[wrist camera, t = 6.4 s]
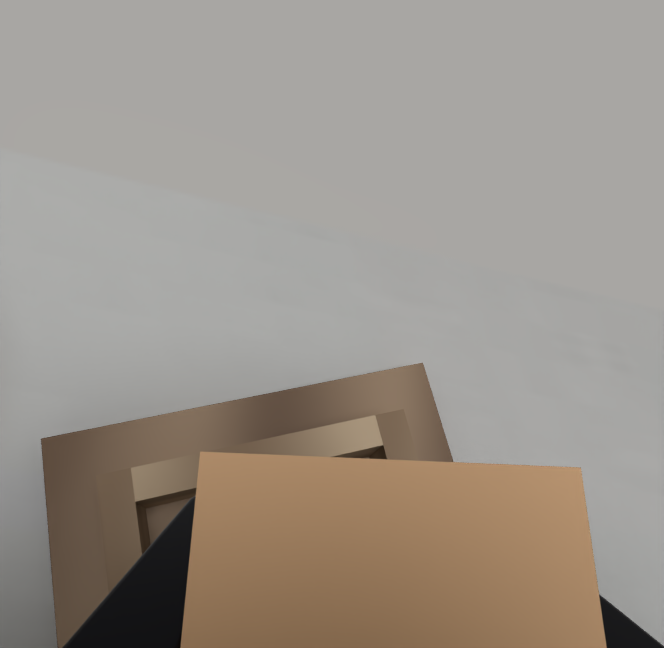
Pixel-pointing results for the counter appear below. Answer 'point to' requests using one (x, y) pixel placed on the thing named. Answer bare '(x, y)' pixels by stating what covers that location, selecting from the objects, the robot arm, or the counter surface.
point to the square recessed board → (183, 462)
